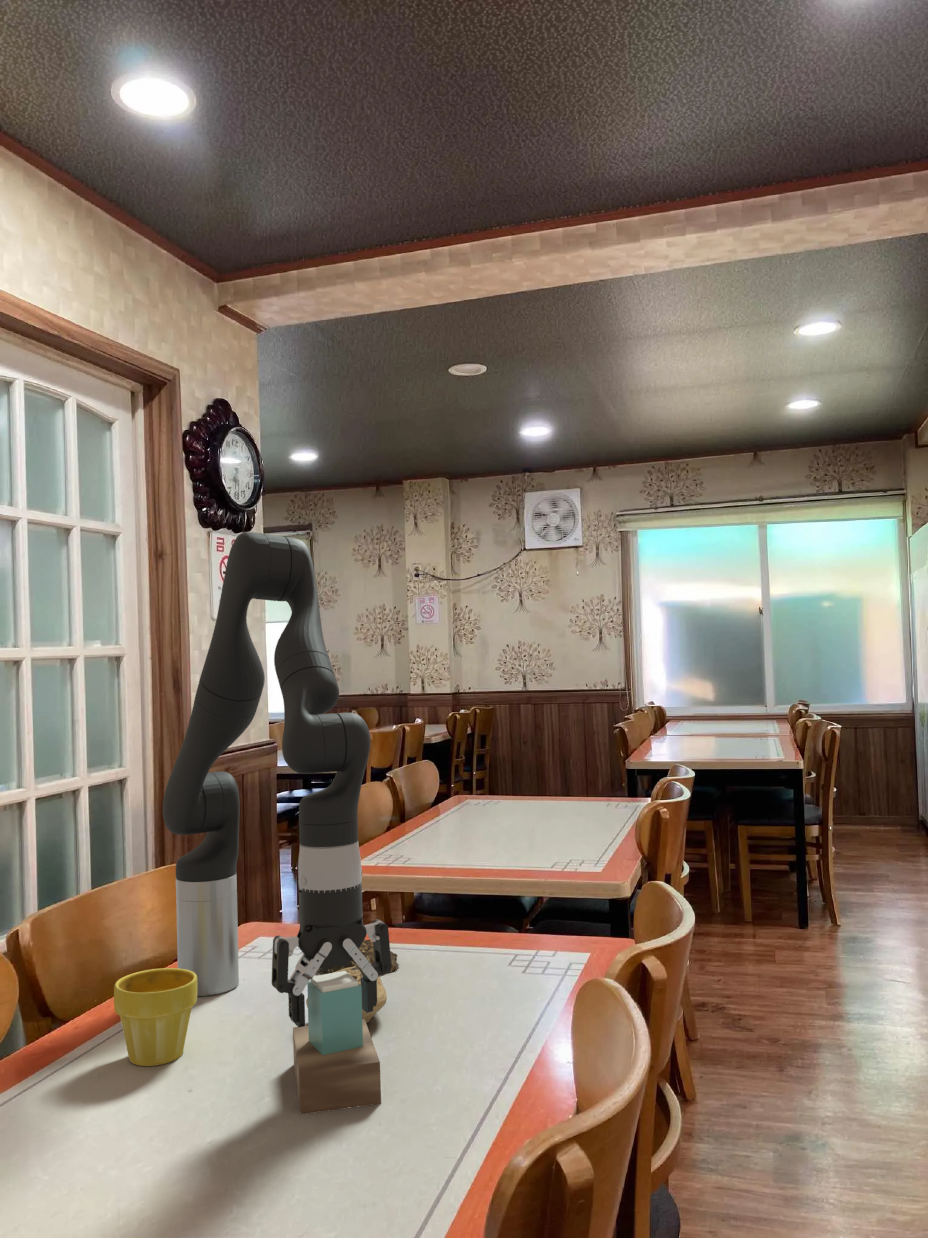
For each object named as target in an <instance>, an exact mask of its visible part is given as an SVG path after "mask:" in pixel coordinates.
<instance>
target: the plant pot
mask: <svg viewBox="0 0 928 1238" xmlns="http://www.w3.org/2000/svg"><path fill="white" fill-rule="evenodd" d="M197 1001H198V996H197V975H196V974H195V973H194V972H192V971H190V970H186V969H179V968H178V967H176V968H175V967H163V968H151V969H145V970H141V971H137V972H134V973H130V974H128V975H125V976H123V977H121V978H119V979H118V980H117V981H116V982H115V984H114V987H113V1006H114V1012H115V1014H116V1015H118V1016H119V1017H120V1022H121V1027H122V1030H123V1036H124V1041H125V1046H126V1051H127V1055H128V1060H129V1062H130V1063H132V1064H133V1065H136V1066H139V1067H154V1066H155V1067H156V1066H162V1065H165V1064H169V1063H172V1062H174V1061H177V1060H178V1059H179V1058H180V1057H181V1056H182V1055H183V1054H184V1049H185V1043H186V1037H187V1033H188V1029H189V1025H190V1023H189V1022H190V1017H191V1013H192V1008H193V1007H194V1006H195V1005H196V1004H197Z"/></svg>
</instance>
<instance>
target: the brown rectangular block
mask: <svg viewBox="0 0 928 1238" xmlns="http://www.w3.org/2000/svg"><path fill="white" fill-rule="evenodd" d="M362 1028H363V1046H362V1047H357V1048H353V1049H348V1050H344V1051H339V1052H335V1053H331V1054H326V1055H322V1054H321V1053H320V1052H319V1051H318V1050H317V1049H316V1048H315V1047H314V1046H313V1045H312V1044H311V1043H310V1042H309V1034H308V1025H305V1026H303V1027H298V1026H293V1027H292V1040H293V1041H292V1044H293V1045H292V1046H293V1047H292V1048H293V1067H294V1068H293V1069H294V1074H295V1075H294V1076H295V1083H296V1091H297V1098H298V1104H299V1105H298V1106H299V1113H301V1114H300V1115H305V1114H306V1113H307V1114H314V1112H315V1113H321V1112H329V1111H328V1110H330V1111H333V1110H334V1111H336V1110H344V1108H345V1109H349V1108H348V1107H352V1108H358V1107H357V1106H360V1107H366V1106H365V1105H367V1106H372V1105H371V1104H374V1105H382V1091H381V1090H382V1089H381V1084H382V1083H381V1061H380V1059H379V1056H378V1053H377V1051H376V1047H375V1044H374V1041H373V1038H372V1037H371V1036H372V1035H371V1033H370V1031H369V1030H370V1029H369V1028H368V1025H367V1023H366V1021H365V1019H362ZM307 1114H306V1115H307Z"/></svg>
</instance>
